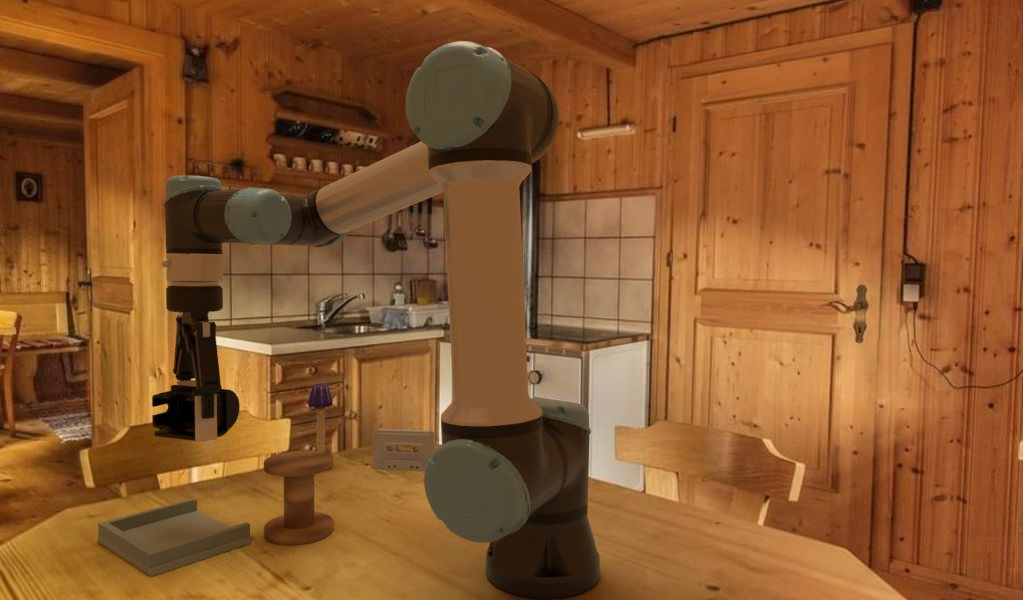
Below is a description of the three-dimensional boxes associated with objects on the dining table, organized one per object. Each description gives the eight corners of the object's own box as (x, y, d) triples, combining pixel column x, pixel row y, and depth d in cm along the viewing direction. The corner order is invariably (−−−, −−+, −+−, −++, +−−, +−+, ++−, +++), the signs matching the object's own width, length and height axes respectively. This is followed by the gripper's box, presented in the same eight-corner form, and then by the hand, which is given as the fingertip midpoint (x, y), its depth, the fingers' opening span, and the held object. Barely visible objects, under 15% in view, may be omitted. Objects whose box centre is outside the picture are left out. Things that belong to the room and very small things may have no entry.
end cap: (240, 430, 104) (240, 386, 104) (206, 442, 97) (206, 394, 97) (186, 425, 107) (185, 381, 106) (149, 436, 100) (149, 389, 100)
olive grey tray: (251, 543, 100) (251, 524, 100) (151, 576, 89) (150, 555, 89) (193, 514, 111) (193, 497, 111) (97, 541, 100) (97, 522, 100)
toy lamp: (335, 470, 135) (335, 385, 134) (311, 473, 133) (311, 387, 132) (328, 463, 139) (328, 381, 138) (305, 467, 137) (304, 383, 136)
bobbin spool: (347, 530, 105) (347, 459, 105) (289, 551, 98) (288, 474, 97) (307, 514, 112) (307, 447, 111) (250, 532, 104) (250, 460, 103)
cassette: (372, 469, 136) (372, 430, 136) (375, 466, 138) (375, 428, 138) (433, 471, 136) (433, 432, 135) (434, 468, 137) (435, 430, 137)
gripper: (151, 281, 108) (153, 418, 110) (184, 288, 89) (186, 454, 90) (203, 280, 113) (204, 412, 114) (244, 287, 93) (245, 445, 95)
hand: (196, 431), depth 102 cm, fingers closed on end cap, 12 cm apart
